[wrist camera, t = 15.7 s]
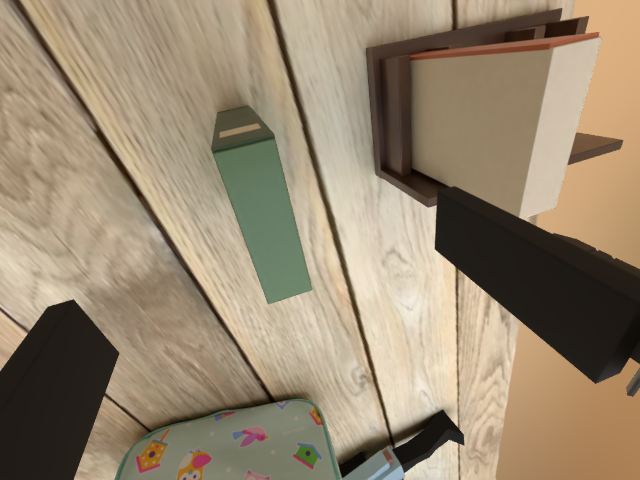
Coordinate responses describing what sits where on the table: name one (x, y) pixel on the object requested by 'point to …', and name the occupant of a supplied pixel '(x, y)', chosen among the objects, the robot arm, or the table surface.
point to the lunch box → (238, 447)
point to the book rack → (394, 94)
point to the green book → (260, 201)
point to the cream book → (501, 117)
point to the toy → (403, 453)
